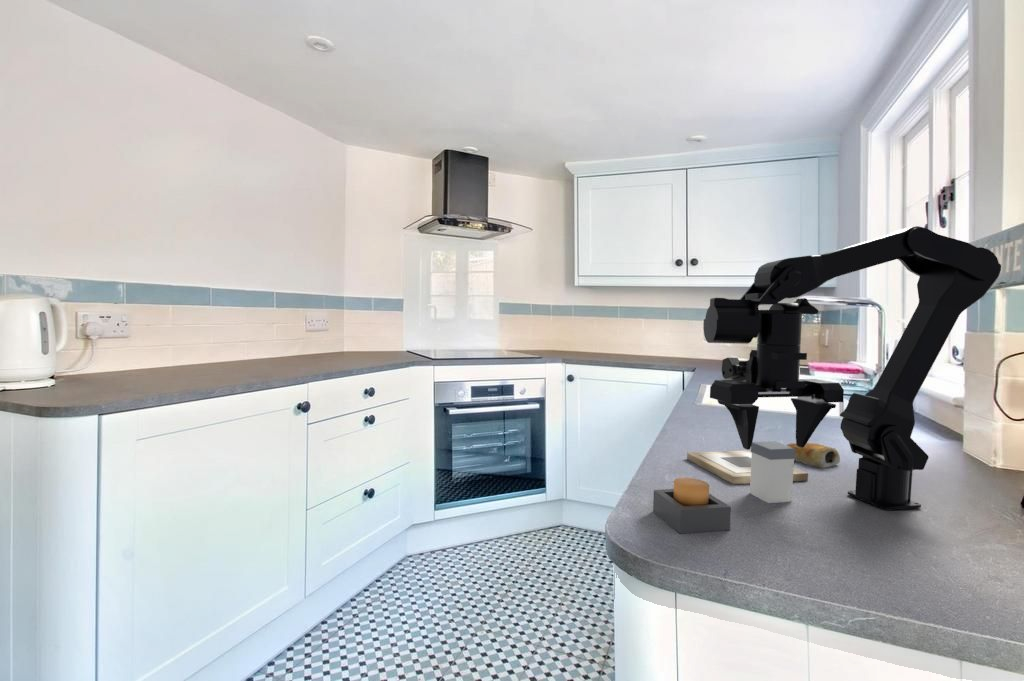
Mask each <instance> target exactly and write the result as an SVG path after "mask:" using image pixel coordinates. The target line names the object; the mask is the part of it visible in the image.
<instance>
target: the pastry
mask: <svg viewBox="0 0 1024 681" xmlns="http://www.w3.org/2000/svg"><path fill="white" fill-rule="evenodd" d="M786 445H787V446H790V447H792V448H795V449H796V451H795V459H794V461H796V462H799V463H802V464H805V465H808V466H811V467H815V468H819V469H821V468H825V469H826V468H830V467H834V466H837V465H839V463H840V462H841V456H840V455H839V454H840V453H839V452H838V450H837V449H836V447H831V446H826V445H824V444H819V443H816V442H813V443H812V442H807V443H806V445H805V446H804V447H802V448H801V447H798V446H797V445H796V443H795V442H793V443H788V444H786Z"/></svg>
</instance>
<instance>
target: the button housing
mask: <svg viewBox="0 0 1024 681" xmlns="http://www.w3.org/2000/svg"><path fill="white" fill-rule="evenodd" d="M673 492H674V488H666V489H665V488H664V489H653V502H652V505H653V506H652V512H654V514H656V515H657V516H658V517H659V518H660V519H662V521H664V522H666V523H667V524H668V526H670V527H671V528H672V529H674V530H675V531H676V532H677V533H678V534H690V533H692V534H693V533H703V532H704V533H705V532H706V533H707V532H719V531H720V532H721V531H730V530H731V515H732V514H731V512H732V506H730V505H728V504H727V503H726V502H724V501H722V500H720V498H717V497H716V496H714V495H712V494H711V493H709V503H708V505H698V506H684V505H681V504H680V503H678V502H677V501H676V500H674V499H673Z"/></svg>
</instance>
